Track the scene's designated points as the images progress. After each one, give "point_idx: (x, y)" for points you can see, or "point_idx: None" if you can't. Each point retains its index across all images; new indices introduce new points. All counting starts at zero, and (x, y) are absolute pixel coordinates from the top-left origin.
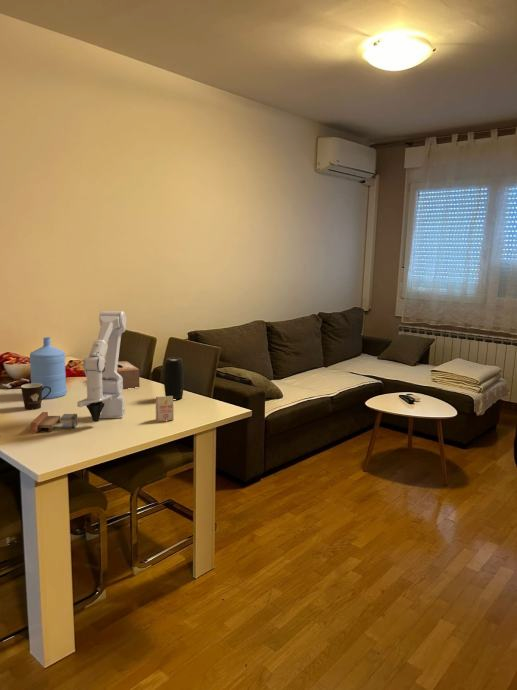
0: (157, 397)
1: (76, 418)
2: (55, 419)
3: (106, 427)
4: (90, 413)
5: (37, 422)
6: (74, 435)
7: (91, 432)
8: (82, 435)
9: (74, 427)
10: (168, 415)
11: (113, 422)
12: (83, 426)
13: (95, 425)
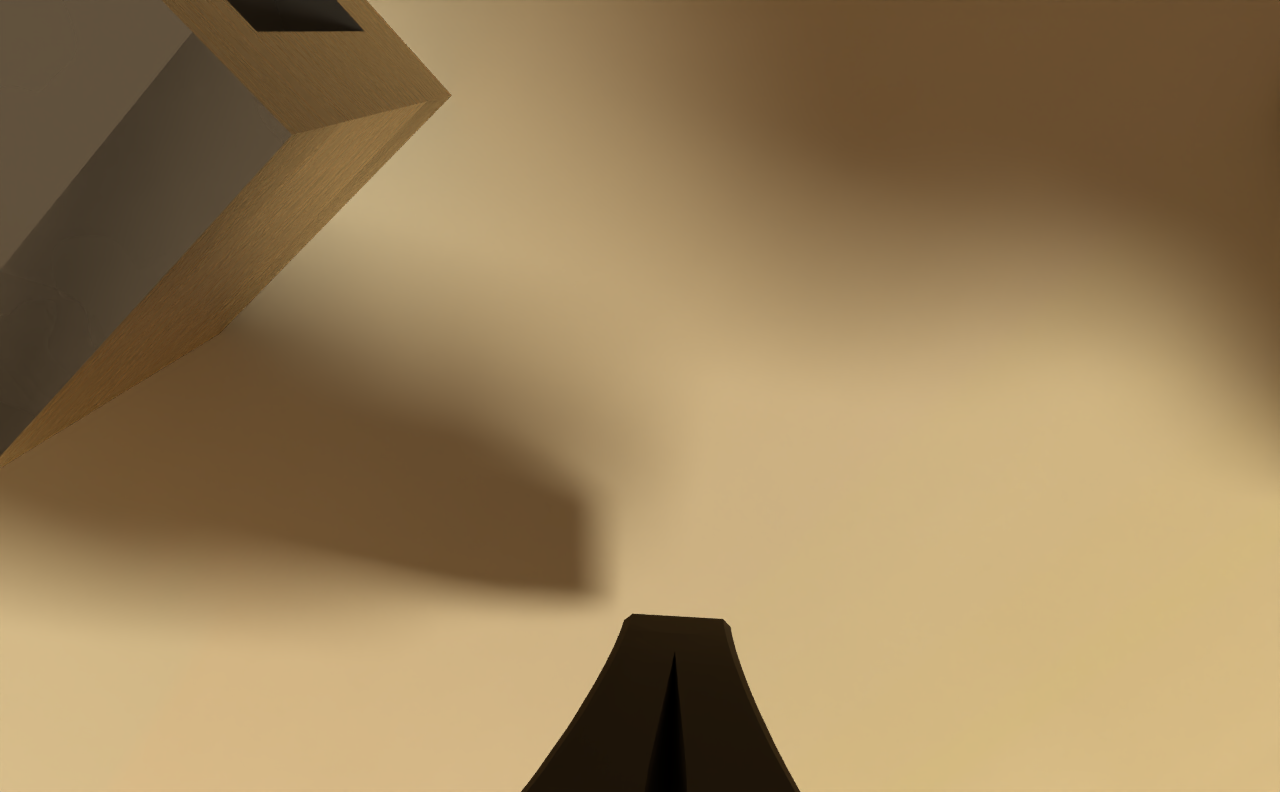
0: None
1: (271, 214)
2: None
3: None
4: (534, 779)
5: None
6: (43, 677)
7: (376, 780)
8: (166, 777)
9: (206, 337)
10: None
11: (1154, 670)
12: (479, 358)
13: (726, 523)
